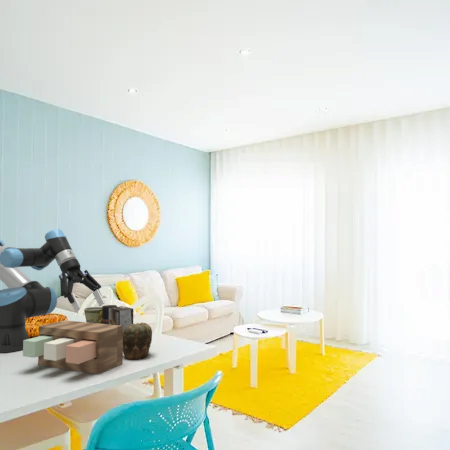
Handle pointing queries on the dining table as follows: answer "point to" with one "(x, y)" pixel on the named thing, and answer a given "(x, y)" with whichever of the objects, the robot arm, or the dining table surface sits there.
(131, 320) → the coffee box
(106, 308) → the deodorant
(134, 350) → the shell
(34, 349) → the key sage
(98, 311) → the ceramic cup
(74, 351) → the key terracotta
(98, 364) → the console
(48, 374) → the dining table surface
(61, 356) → the key cream
